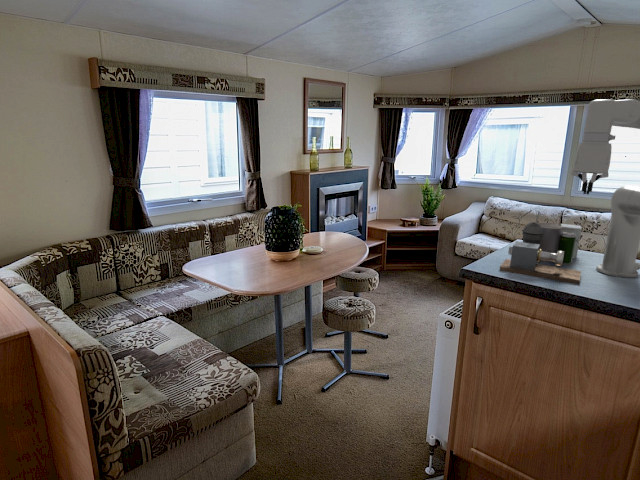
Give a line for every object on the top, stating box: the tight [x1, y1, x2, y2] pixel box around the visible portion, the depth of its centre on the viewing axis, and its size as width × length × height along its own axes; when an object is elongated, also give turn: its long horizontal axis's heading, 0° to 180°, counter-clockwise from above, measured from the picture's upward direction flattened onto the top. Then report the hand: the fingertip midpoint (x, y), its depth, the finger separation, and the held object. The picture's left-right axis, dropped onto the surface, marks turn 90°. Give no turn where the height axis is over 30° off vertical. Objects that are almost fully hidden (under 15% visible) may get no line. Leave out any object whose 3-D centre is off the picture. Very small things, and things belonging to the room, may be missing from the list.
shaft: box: [507, 246, 564, 267], centre depth 149 cm, size 18×5×5 cm, turn 57°
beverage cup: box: [522, 211, 543, 244], centre depth 161 cm, size 7×7×20 cm
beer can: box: [558, 232, 576, 266], centre depth 161 cm, size 5×5×12 cm
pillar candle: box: [537, 221, 562, 262], centre depth 166 cm, size 10×10×15 cm
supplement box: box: [559, 223, 583, 259], centre depth 172 cm, size 7×7×13 cm
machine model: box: [499, 240, 582, 286], centre depth 148 cm, size 25×12×10 cm, turn 57°
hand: (586, 193), depth 141 cm, fingers closed
